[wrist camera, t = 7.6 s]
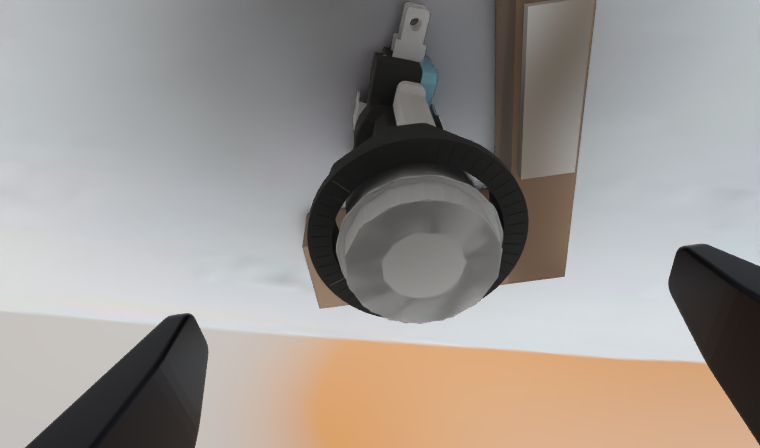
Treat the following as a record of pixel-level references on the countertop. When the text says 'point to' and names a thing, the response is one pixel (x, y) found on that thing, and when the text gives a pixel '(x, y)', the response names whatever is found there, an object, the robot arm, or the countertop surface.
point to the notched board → (532, 125)
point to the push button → (414, 200)
